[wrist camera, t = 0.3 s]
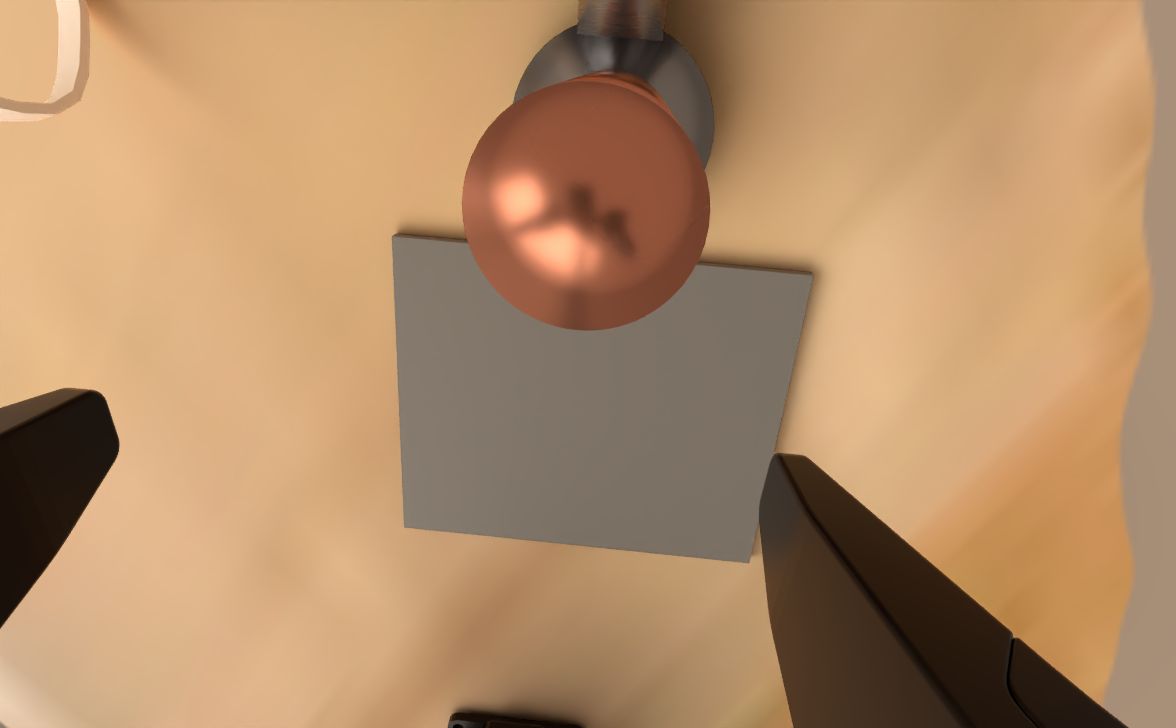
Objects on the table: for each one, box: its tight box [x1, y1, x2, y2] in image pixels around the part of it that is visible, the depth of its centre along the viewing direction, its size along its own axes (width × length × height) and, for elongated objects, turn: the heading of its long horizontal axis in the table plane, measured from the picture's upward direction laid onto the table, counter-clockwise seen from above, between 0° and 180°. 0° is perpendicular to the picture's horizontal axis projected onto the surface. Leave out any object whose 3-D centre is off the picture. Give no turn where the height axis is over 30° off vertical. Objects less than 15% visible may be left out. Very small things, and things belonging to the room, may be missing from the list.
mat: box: [392, 234, 813, 563], centre depth 25 cm, size 12×14×1 cm
